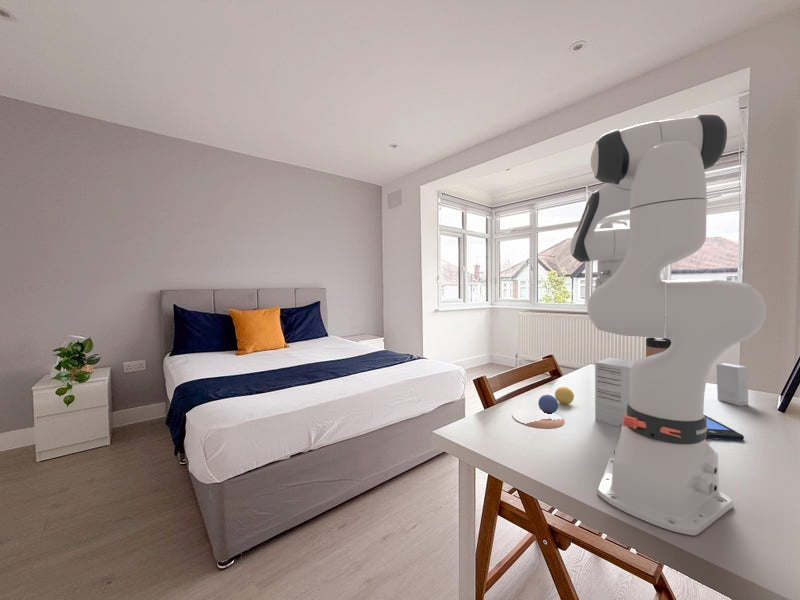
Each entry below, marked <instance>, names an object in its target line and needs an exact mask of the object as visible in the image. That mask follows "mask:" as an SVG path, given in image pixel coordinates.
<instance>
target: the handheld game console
mask: <svg viewBox="0 0 800 600" xmlns="http://www.w3.org/2000/svg"><path fill="white" fill-rule="evenodd" d="M703 415H704V416H705V417H706V422H707V427H708V429H707V437H706V439H710V440H711V439H713V440H726V441H727V440H728V441H738V442H739V441H744V439H745V436H744V435H743V434H742V433H740V432H738V431H736V430H735V429H732V428H730V427H728V426H727V425H725V424H723V423H721V422H720V421H717V420H715V419H713V418H711V417H709V416H707V415H706V414H703Z"/></svg>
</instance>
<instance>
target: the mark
mask: <svg viewBox="0 0 800 600" xmlns="http://www.w3.org/2000/svg"><path fill="white" fill-rule="evenodd" d="M563 424H564V425H565V419H564V418H563V419H561V420H560V419H557V420H555V419H554V420H552V419H550V418H549V419H541V420H539V421H534V422H530V423H527V424H526V425H525V426H527V425H529V426H528V427H531V426H533V427H532V428H537V427H538V429H556V427H557V428H560V427H562V426H563ZM559 426H560V427H559Z"/></svg>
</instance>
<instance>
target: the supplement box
mask: <svg viewBox="0 0 800 600" xmlns="http://www.w3.org/2000/svg"><path fill="white" fill-rule="evenodd" d="M635 362H637V361H635V360H629V359H623V358H615V357H607V358H605V359H601V360H598V361H595V362H594V373H595V375H594V388H595V389H594V391H595V392H594V393H595V394H594V395H595V396H594V401H595V402H594V412H595V413H594V414H595V415H594V417H595V419H594V420H595V421H597V422H601V423H604V424H608V425H611V426H615V427H618V428H621V427H623V426H624V422H623V421H624V417H625V413H626V409H627V404H628V403H629V401H630V388H629V386H630V369H631V367H632V366H633V364H634V363H635Z"/></svg>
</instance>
